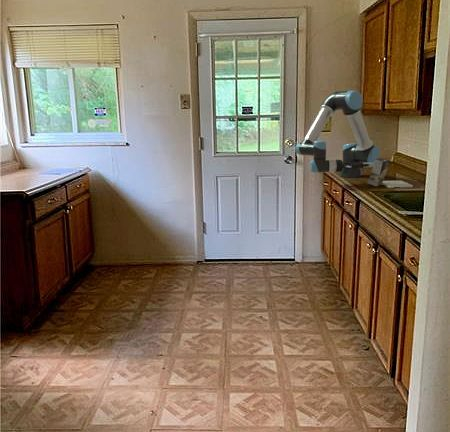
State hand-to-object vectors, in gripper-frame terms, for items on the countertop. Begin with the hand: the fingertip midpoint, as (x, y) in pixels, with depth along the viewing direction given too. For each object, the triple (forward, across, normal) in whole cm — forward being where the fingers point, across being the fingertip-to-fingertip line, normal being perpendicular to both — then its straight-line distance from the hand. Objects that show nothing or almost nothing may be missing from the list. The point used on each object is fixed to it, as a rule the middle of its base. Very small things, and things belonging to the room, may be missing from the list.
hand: (373, 164), depth 282 cm
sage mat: (+14, 0, -13) cm, 19 cm away
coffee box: (+1, 0, -12) cm, 12 cm away
